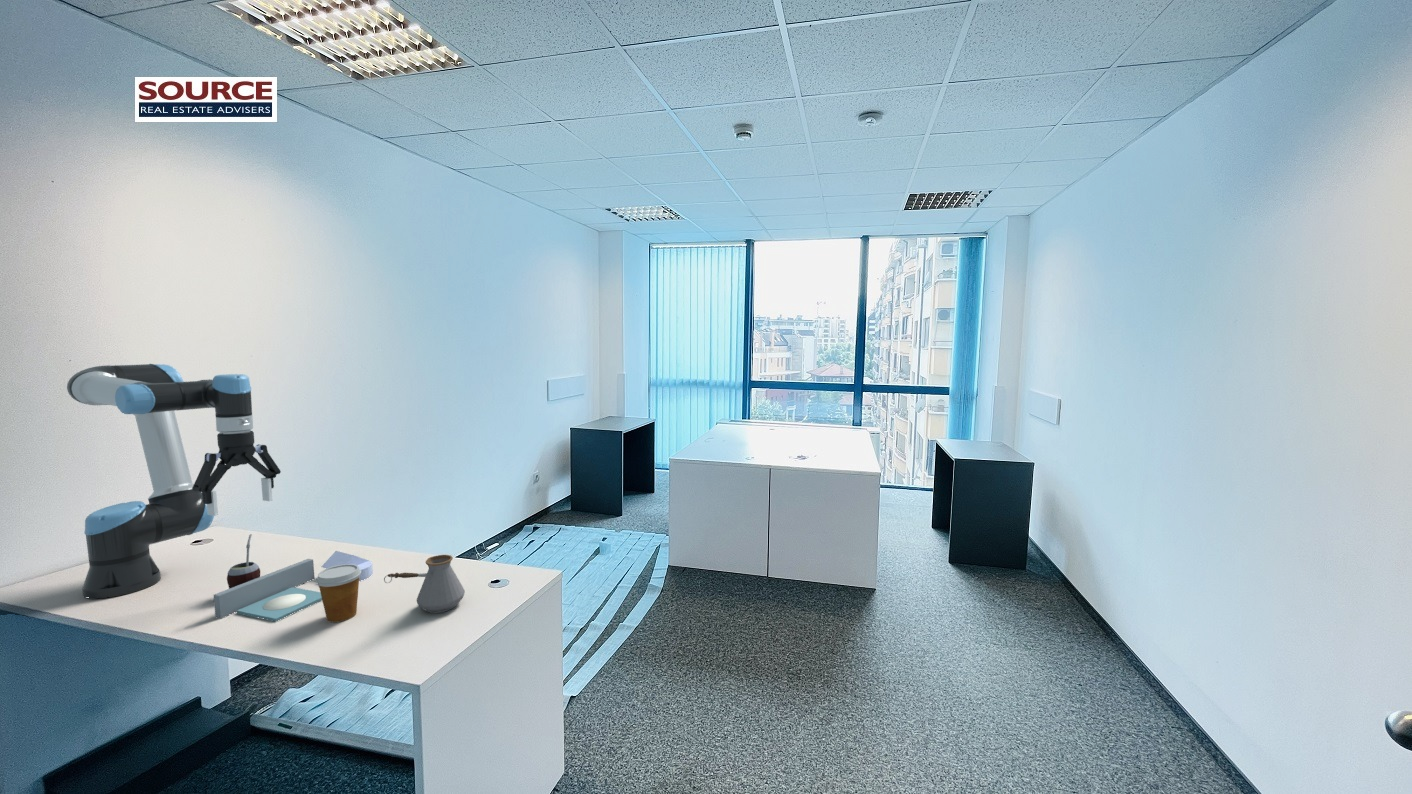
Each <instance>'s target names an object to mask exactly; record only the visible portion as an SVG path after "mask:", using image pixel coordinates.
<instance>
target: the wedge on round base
mask: <svg viewBox="0 0 1412 794" xmlns="http://www.w3.org/2000/svg"><path fill="white" fill-rule="evenodd" d="M344 564H355V565H358V566H359V569H360V570H361V574H360V577H359V581H360V582H362V581H361V580H363V581H365V580H368V579H370V578H371V577H372V576H373V575H372V574H374V569H373V562H372V561H371V560H370V559H369V560H368V559H366V558H362V557H360V556H356V555H354V554H351V553H347V552H346V553H345V552H343V551H339V550H335V551H334V552H333V553H332V554H331V555H330V556H329V558H328V559H327V560H326V561H325V562H324V563H322V565H320V567H321V568H323V569H327V568H330V567H333V566H338V565H344ZM371 575H372V576H371ZM370 576H371V577H370ZM369 577H370V578H369ZM367 578H368V579H367ZM364 579H365V580H364Z"/></svg>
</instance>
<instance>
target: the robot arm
mask: <svg viewBox="0 0 1412 794" xmlns="http://www.w3.org/2000/svg"><path fill="white" fill-rule="evenodd" d="M66 390H67V393H68V394H69V396H70V397H71V398H72V399H74V401H76V402H78V403H81V404H85V405H89V406H113V407H117V409H118V410H119V411H120V412H121V414H124V415H133V416H135V421H136V424H137V429H138V434H139V438H140V441H141V445H142V449H143V454H144V458H145V461H146V466H147V469H148V470H147V471H148V474H149V478H150V481H151V485H152V493H151V495H150V496H149V497H148V498H147V500H148V503H147V504H146V503H144V502H143V501H141V500H135V501H134V500H133V501H127V502H121V503H117V504H112V505H109V506H105V507H103V508H100V509H97V510H96V511H93V512H91V513H90V514H89V515H88V516H86V518H85V520H84V535H85V539H86V548H87V556H88V564H89V567H88V571H87V574H86V576H85V579H84V582H83V585H82V587H81V590H82V597H83V596H84V597H83V598H85V597H89V598H100V599H107V597H109V598H114V597H119V596H124V595H127V594H131V593H136V592H139V591H141V590H144V589H147V588H150V587H151V586H154V585H155V584H157V583H159V582H160V581H161V579H162V576H161V571H160V568H159V567H158V565H157V564H156V562H155V561H154V559H153V557H152V556H151V553H150V545H152V544H156V543H157V544H158V543H160V542H161V543H162V542H166V541H168V540H173V539H178V538H181V537H184V536H190V535H194V534H195V533H196V534H197V533H199V532H200V533H201V532H203V531H206V530H207V529H208V528H209V527H210V526H211V525H212V523H213V522H214V521H213V520H214V519H215V517H216V516H219V509H218V499H217V491H216V490H214V488H215V487H216V486H217V485H218V484H219V482H220V481H221V479H222V478H223V477H224V476H225V474H226V473H227V471H228V470H230V469H232V467H238V466H242V465H243V466H245V465H247V464H248V465H249V466H250V467H252V468H253V469H254V470H255V471H257V472H258V473H259V474H261V475H262V476H263V477H261V478H260V480H261V481H260V483H261V494H262V501H263V502H265V501H266V502H272V501H273V491H272V489H274V488H275V484H274V481H275V480H274V479H275V478H276V477H277V475H280V474H281V469H280V468H279V466H278V465H277V463H276V462H275V461H274V459H273V457H272V456H271V455H270V453H269V450H268V447H267V445H266V444H256V445H254V444H255V434H254V433H255V432H254V431H253V429H254V421H253V419H254V418H253V407H252V404H253V403H252V386H251V381H250V377H249V376H248V375H246V374H238V373H235V374H233V373H231V374H217V375H214V376H213V378H212V379H210V378H209V379H199V380H195V381H194V380H193V381H184V380H183V377H182V376H181V373H180V372H179V371H178V370H177V369H176V368H175V367H173V366H171V365H170V364H154V363H148V364H145V363H144V364H125V365H124V364H120V365H118V364H117V365H116V364H115V365H111V364H108V365H97V366H91V367H88V368H85V369H83V370H80V371H79V372H75V374H73V375H71V377H70V378H69V380H68V381H67V385H66ZM210 408H211V409H214V410H215V428H216V429H215V430H216V431H217V432H218V433H217V435H216V436H217V447H218V452H215V453H213V452H211V453H210V452H207V453H206V452H205V454H204V460H203V464H202V467H201V468H200V470H199V473H198V475H197V477H196V480H195V481H194V483H193V481H192V476H191V473H190V469H189V465H188V464H189V463H188V461H187V457H186V453H185V448H184V445H183V441H182V437H181V432H180V429H179V424H178V420H177V417H176V412H175V411H186V410H189V411H190V410H197V409H198V410H199V409H200V410H201V409H210ZM255 453H256V454H257V455H258V457H259V458H260V460H261V461H262V462H263V464H264V465H263V464H262V463H261V462H260V461H259V459H257V458H256V457H255V456H254V455H255ZM219 460H220V461H219ZM218 461H219V462H218ZM217 462H218V463H217ZM216 464H217V465H216ZM215 466H216V468H215ZM214 468H215V469H214Z"/></svg>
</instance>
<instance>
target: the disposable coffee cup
mask: <svg viewBox="0 0 1412 794" xmlns="http://www.w3.org/2000/svg"><path fill="white" fill-rule="evenodd" d="M360 574H361V570H360V569H359V566H358V565H355V564H344V565H338V566H333V567H330V568H327V569H326V568H324V569H323V570H321V571H319V573H318V574H317V578H316V579H315V582H316V584H317V586H318V587H319V592H321V597H322V601H321V602H322V606H323V609H324V613H325V617H326V618H325V619H326V621H327V622H329V623H339V622H340V623H341V622H344V621H347V620H350V619H352V618H353V617H355V616H356V615H357V611H358V610H357V609H358V597H359V584H360V582H359V577H360Z"/></svg>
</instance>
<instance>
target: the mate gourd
mask: <svg viewBox="0 0 1412 794" xmlns="http://www.w3.org/2000/svg"><path fill="white" fill-rule="evenodd" d="M252 535H253V534H249V535H248V538H247V543H246V562H240V563H238V564H234V565H233V566H231V567H230V568H229V569H228V571H227V576H226V582H227V586H228V589H230V588H233V587H235V586H238V585H240V584H243V583H246V582H248V581H251V580H254V579H256V578H259V577H261V569H260V565H258V564H257V563H256V562H253V561H250V548H251V539H252Z"/></svg>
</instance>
